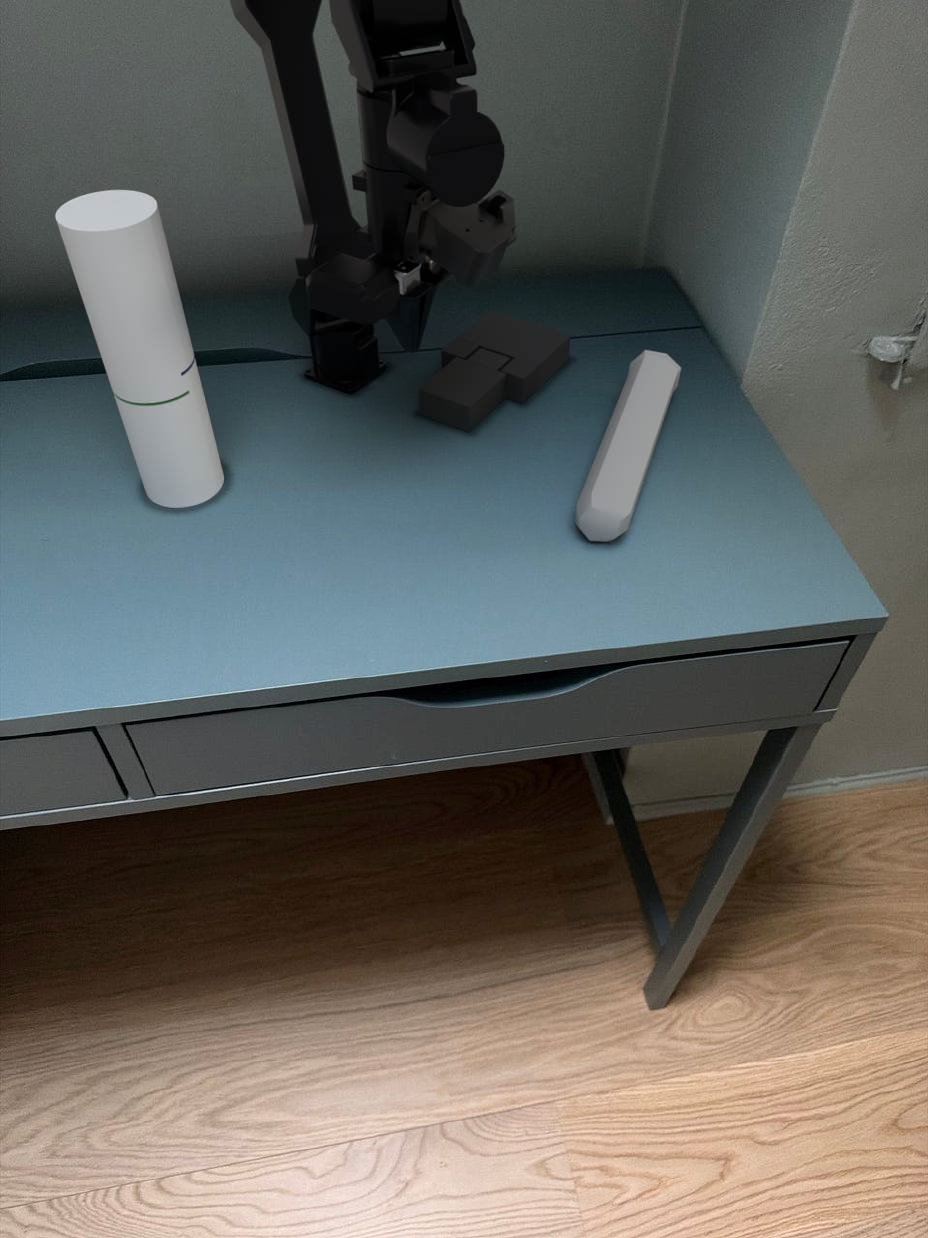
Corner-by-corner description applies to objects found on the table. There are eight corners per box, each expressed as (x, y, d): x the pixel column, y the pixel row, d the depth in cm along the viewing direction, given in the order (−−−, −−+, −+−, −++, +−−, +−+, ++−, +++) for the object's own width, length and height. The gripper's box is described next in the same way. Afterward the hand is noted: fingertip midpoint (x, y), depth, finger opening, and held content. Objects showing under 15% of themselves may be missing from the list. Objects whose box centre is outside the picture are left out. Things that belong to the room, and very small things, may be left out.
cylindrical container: (238, 468, 85) (176, 197, 67) (199, 514, 80) (120, 237, 62) (172, 453, 87) (93, 184, 68) (130, 498, 82) (34, 222, 64)
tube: (612, 563, 78) (665, 405, 94) (639, 523, 74) (690, 365, 90) (556, 536, 78) (619, 382, 94) (581, 494, 73) (642, 341, 89)
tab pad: (419, 414, 91) (418, 388, 89) (470, 369, 97) (470, 344, 94) (469, 432, 89) (469, 407, 87) (519, 386, 95) (520, 360, 92)
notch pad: (441, 375, 96) (440, 350, 94) (490, 334, 102) (490, 309, 99) (522, 404, 92) (524, 378, 90) (568, 360, 98) (571, 334, 96)
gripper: (423, 227, 58) (431, 432, 69) (557, 138, 69) (545, 327, 80) (287, 192, 62) (316, 391, 73) (434, 113, 73) (439, 296, 84)
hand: (411, 350), depth 77 cm, fingers closed
